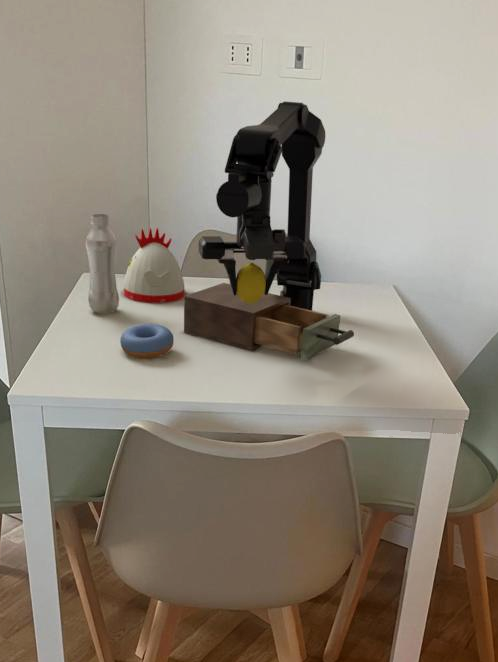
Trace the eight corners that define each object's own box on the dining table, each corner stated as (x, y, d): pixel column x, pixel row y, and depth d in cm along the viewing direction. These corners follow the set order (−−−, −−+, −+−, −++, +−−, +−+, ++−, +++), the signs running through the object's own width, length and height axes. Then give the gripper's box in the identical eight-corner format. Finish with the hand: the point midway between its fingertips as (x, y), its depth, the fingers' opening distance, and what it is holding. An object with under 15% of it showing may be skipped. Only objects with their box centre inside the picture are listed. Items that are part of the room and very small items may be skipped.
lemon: (270, 306, 149) (273, 263, 145) (249, 311, 146) (250, 268, 142) (250, 299, 153) (252, 256, 149) (228, 304, 149) (229, 261, 145)
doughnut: (130, 364, 146) (129, 340, 144) (113, 346, 154) (113, 323, 152) (181, 358, 150) (181, 334, 148) (163, 341, 158) (163, 318, 156)
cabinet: (288, 334, 165) (290, 298, 162) (251, 351, 155) (253, 312, 152) (222, 317, 173) (223, 282, 170) (183, 332, 163) (184, 295, 159)
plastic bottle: (124, 309, 175) (122, 214, 165) (110, 318, 169) (106, 220, 160) (98, 305, 177) (94, 211, 167) (82, 313, 171) (77, 216, 161)
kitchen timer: (121, 286, 191) (119, 221, 183) (178, 285, 194) (179, 221, 187) (127, 303, 179) (126, 234, 172) (188, 302, 182) (189, 234, 175)
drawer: (359, 349, 157) (363, 320, 154) (329, 366, 147) (332, 335, 145) (271, 326, 166) (273, 299, 163) (237, 341, 157) (238, 312, 154)
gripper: (207, 216, 132) (206, 309, 140) (317, 217, 135) (310, 307, 143) (198, 203, 141) (197, 290, 149) (301, 204, 145) (295, 289, 153)
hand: (250, 294), depth 148 cm, fingers closed on lemon, 5 cm apart
